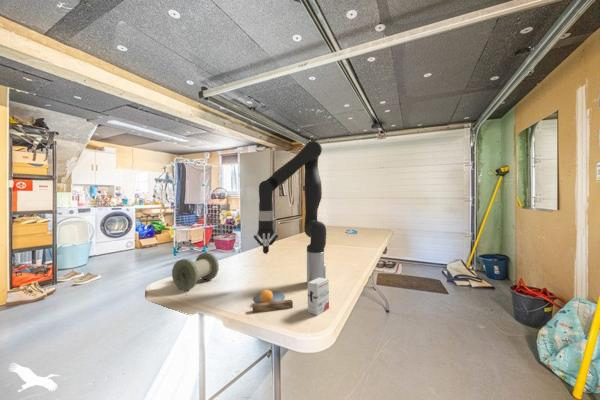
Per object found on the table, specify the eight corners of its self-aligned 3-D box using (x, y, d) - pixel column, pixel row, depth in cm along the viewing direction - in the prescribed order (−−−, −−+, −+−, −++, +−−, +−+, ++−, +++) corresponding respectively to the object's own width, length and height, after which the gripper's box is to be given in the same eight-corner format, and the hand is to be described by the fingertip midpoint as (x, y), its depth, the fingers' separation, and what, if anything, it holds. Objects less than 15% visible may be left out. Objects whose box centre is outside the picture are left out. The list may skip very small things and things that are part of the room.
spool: (195, 292, 106) (195, 261, 107) (171, 288, 111) (172, 258, 112) (218, 280, 122) (218, 253, 122) (196, 277, 127) (197, 251, 127)
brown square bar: (291, 305, 92) (291, 299, 93) (292, 307, 91) (292, 301, 91) (252, 310, 88) (252, 304, 88) (252, 312, 86) (252, 306, 86)
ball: (271, 288, 99) (272, 288, 94) (273, 301, 97) (274, 302, 92) (259, 290, 98) (258, 291, 93) (261, 304, 96) (260, 305, 91)
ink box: (319, 304, 94) (319, 276, 94) (329, 308, 90) (329, 279, 91) (307, 312, 87) (307, 281, 87) (317, 316, 84) (317, 284, 84)
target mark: (281, 290, 109) (281, 289, 109) (287, 302, 95) (287, 302, 95) (252, 293, 105) (252, 292, 105) (254, 306, 91) (254, 306, 91)
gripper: (253, 220, 109) (253, 255, 108) (279, 220, 112) (279, 254, 112) (252, 219, 116) (252, 252, 116) (277, 218, 119) (277, 251, 119)
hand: (265, 253), depth 114 cm, fingers closed
